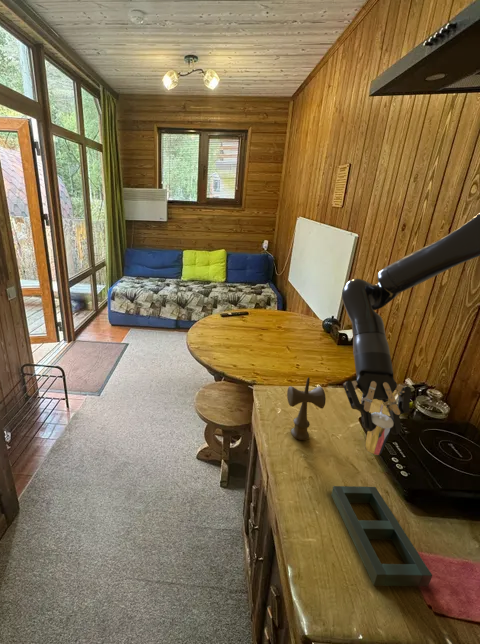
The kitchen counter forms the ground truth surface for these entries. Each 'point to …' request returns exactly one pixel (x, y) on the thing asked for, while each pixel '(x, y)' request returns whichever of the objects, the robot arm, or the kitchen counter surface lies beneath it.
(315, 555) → the kitchen counter surface
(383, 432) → the milkshake
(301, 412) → the kendama
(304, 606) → the kitchen counter surface
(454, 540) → the kitchen counter surface
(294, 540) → the kitchen counter surface
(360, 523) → the frame
